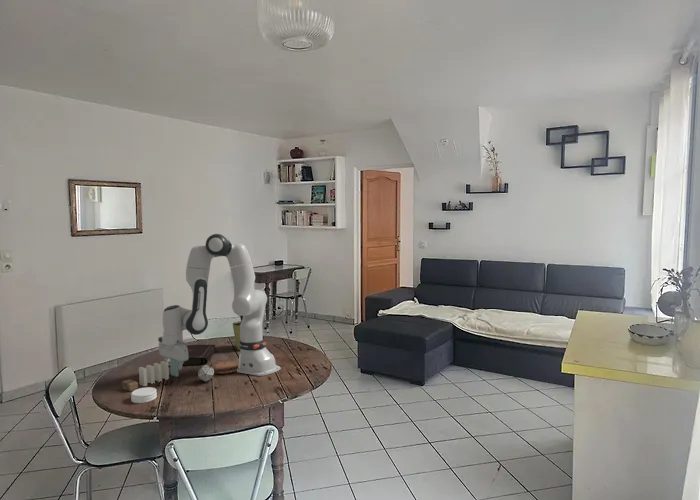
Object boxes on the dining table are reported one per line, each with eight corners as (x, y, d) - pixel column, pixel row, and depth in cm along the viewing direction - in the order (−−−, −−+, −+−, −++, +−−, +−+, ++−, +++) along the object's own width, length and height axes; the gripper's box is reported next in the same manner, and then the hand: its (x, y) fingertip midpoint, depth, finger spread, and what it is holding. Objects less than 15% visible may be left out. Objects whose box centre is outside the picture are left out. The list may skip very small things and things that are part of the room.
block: (138, 389, 207) (137, 382, 207) (130, 391, 205) (130, 384, 204) (130, 386, 212) (130, 379, 211) (122, 388, 209) (122, 381, 209)
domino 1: (147, 385, 212) (146, 368, 212) (144, 386, 211) (143, 369, 210) (142, 383, 215) (141, 366, 214) (139, 384, 214) (138, 367, 213)
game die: (203, 390, 215) (190, 377, 210) (204, 378, 222) (191, 365, 217) (220, 380, 215) (207, 367, 210) (220, 369, 222) (208, 355, 217)
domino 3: (162, 381, 218) (161, 364, 217) (159, 381, 217) (158, 365, 216) (157, 379, 220) (156, 362, 220) (154, 380, 219) (153, 363, 219)
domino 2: (154, 383, 215) (154, 366, 214) (151, 384, 214) (151, 367, 213) (149, 381, 218) (149, 364, 217) (147, 382, 216) (146, 365, 216)
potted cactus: (265, 346, 274) (264, 296, 272) (247, 352, 261) (245, 300, 259) (246, 342, 282) (245, 294, 280) (227, 349, 269) (225, 298, 267)
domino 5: (178, 375, 224) (178, 359, 224) (176, 376, 223) (175, 360, 223) (173, 374, 227) (172, 358, 227) (170, 375, 226) (170, 358, 226)
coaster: (160, 394, 202) (160, 386, 202) (151, 403, 192) (151, 395, 192) (137, 395, 201) (136, 387, 201) (127, 404, 191) (126, 395, 191)
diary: (216, 352, 266) (216, 343, 266) (207, 366, 241) (207, 356, 241) (182, 353, 264) (182, 344, 264) (170, 367, 239) (170, 357, 239)
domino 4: (169, 378, 221) (168, 362, 220) (166, 379, 219) (165, 363, 219) (164, 377, 223) (163, 360, 223) (161, 377, 222) (160, 361, 222)
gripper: (191, 341, 220) (192, 369, 221) (167, 334, 233) (169, 361, 234) (179, 344, 215) (180, 373, 216) (156, 337, 228) (157, 365, 229)
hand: (174, 367), depth 225 cm, fingers open, 8 cm apart
